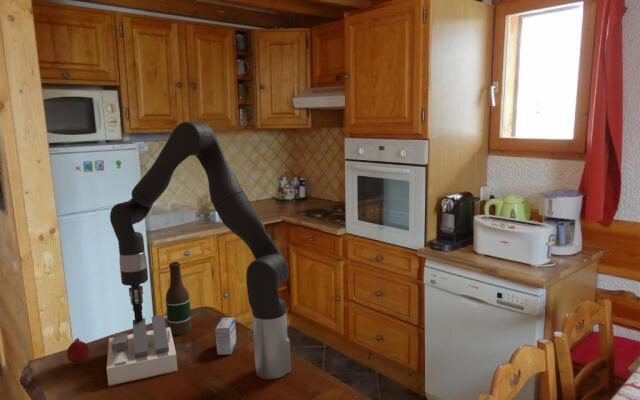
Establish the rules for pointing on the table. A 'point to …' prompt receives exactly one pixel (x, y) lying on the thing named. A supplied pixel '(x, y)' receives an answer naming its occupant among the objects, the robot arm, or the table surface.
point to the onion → (77, 351)
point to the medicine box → (225, 336)
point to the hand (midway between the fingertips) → (139, 321)
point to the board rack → (139, 360)
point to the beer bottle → (178, 303)
